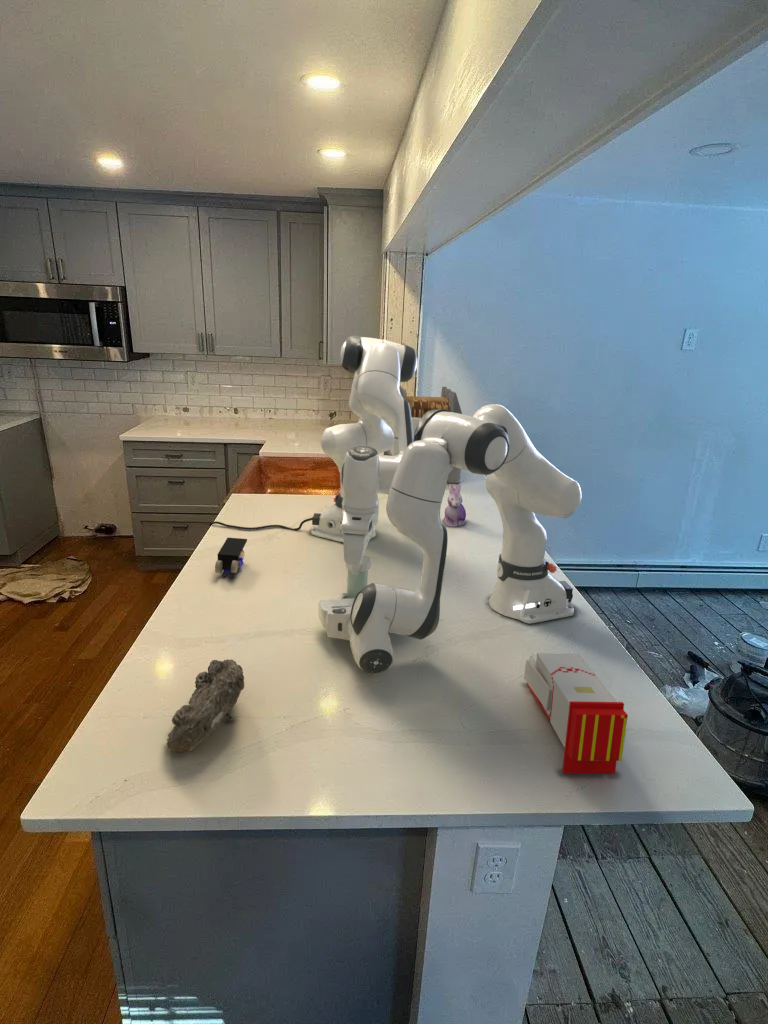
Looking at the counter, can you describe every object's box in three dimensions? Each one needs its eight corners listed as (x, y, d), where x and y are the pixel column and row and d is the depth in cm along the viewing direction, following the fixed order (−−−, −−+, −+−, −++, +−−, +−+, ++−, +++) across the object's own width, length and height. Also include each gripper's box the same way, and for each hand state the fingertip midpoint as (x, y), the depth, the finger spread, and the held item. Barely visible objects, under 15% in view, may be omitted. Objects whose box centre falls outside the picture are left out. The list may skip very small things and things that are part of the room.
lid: (341, 563, 142) (342, 556, 141) (363, 560, 145) (363, 552, 144) (352, 573, 137) (352, 566, 136) (374, 569, 140) (374, 562, 139)
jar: (355, 608, 149) (357, 555, 144) (369, 615, 146) (373, 561, 141) (341, 615, 145) (343, 561, 140) (356, 623, 142) (358, 567, 137)
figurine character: (238, 584, 162) (249, 557, 175) (236, 562, 158) (247, 536, 172) (215, 584, 161) (227, 556, 175) (212, 561, 158) (225, 535, 171)
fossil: (192, 660, 117) (244, 628, 112) (224, 691, 120) (276, 661, 115) (142, 746, 98) (202, 712, 93) (182, 779, 101) (242, 748, 96)
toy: (573, 635, 123) (638, 710, 94) (567, 691, 126) (628, 782, 97) (518, 633, 123) (565, 709, 93) (513, 690, 125) (557, 781, 96)
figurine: (451, 529, 206) (455, 489, 201) (436, 519, 214) (439, 481, 209) (472, 525, 210) (476, 487, 205) (457, 516, 219) (460, 479, 214)
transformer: (382, 463, 289) (386, 382, 275) (445, 464, 293) (451, 384, 279) (390, 482, 257) (394, 392, 243) (460, 483, 261) (468, 394, 247)
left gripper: (354, 500, 146) (352, 549, 151) (339, 528, 127) (338, 583, 132) (378, 502, 146) (375, 551, 150) (367, 531, 127) (364, 586, 131)
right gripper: (408, 608, 133) (396, 581, 146) (321, 613, 129) (316, 585, 142) (406, 632, 135) (395, 603, 148) (320, 637, 131) (316, 607, 144)
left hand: (358, 567), depth 141 cm, fingers closed on lid, 6 cm apart
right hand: (355, 594), depth 145 cm, fingers closed on jar, 5 cm apart
